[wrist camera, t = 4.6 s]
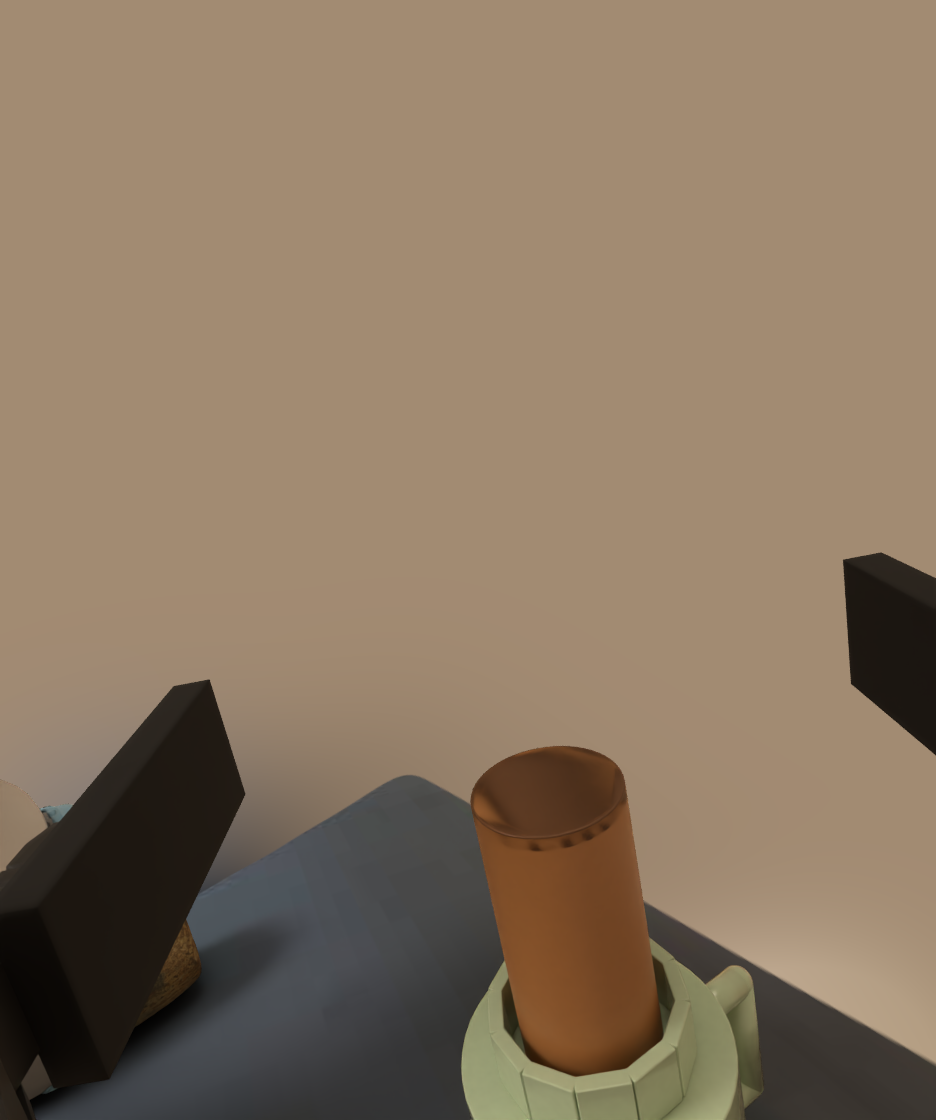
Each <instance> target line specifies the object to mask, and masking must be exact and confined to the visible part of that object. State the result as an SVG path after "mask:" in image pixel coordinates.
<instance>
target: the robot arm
mask: <svg viewBox="0 0 936 1120" xmlns="http://www.w3.org/2000/svg"><path fill="white" fill-rule="evenodd" d="M843 566H844V580H845V597H846V612H847V628H848V644H849V660H850V674H851V684H852V685H853V686H854V687H856V688H857V689H858V690H859V691H860V692H861V693H863V694H864V695H865V696H866V697H867V698H869V699H870V700H871V701H872V702H873V703H875V704H876V705H877V706H878V707H879V708H880V709H882V710H883V711H884V712H885V713H886V714H888V715H889V716H890V717H891V718H892V719H893V720H895V721H896V722H897V723H898V724H899V725H901V726H902V727H903V728H904V729H905V730H907V731H908V732H909V733H910V734H911V735H913V736H914V737H915V738H916V739H917V740H918V741H920V742H921V743H922V744H923V745H925V746H926V747H927V748H928V749H929V750H930V751H932V752H933V753H934V754H935V755H936V578H934V577H932V576H930V575H928V574H925V573H923V572H921V571H919V570H917V569H915V568H913V567H911V566H909V565H907V564H904V563H902V562H900V561H898V560H896V559H894V558H891V557H890V556H888V555H886V554H883V553H876V554H871V555H866V556H860V557H855V558H850V559H845V560H843ZM244 796H245V792H244V788H243V785H242V782H241V778H240V775H239V772H238V769H237V766H236V763H235V759H234V756H233V753H232V750H231V747H230V744H229V740H228V737H227V734H226V731H225V727H224V725H223V721H222V718H221V715H220V712H219V709H218V706H217V702H216V699H215V696H214V692H213V690H212V686H211V683H210V680H204V681H199V682H194V683H189V684H183V685H178V686H174V687H173V688H172V689H171V690H170V691H169V693H168V694H167V695H166V696H165V697H164V698H163V700H162V701H161V702H160V703H159V704H158V706H157V707H156V708H155V709H154V710H153V711H152V713H151V714H150V715H149V716H148V717H147V719H146V720H145V721H144V722H143V723H142V724H141V726H140V727H139V728H138V729H137V730H136V732H135V733H134V734H133V735H132V736H131V737H130V739H129V740H128V741H127V742H126V744H125V745H124V746H123V747H122V748H121V749H120V751H119V752H118V753H117V754H116V755H115V756H114V758H113V759H112V760H111V761H110V762H109V763H108V765H107V766H106V767H105V768H104V770H103V771H102V772H101V773H100V774H99V775H98V776H97V778H96V779H95V780H94V781H93V782H92V784H91V785H90V786H89V787H88V788H87V789H86V791H85V792H84V793H83V794H82V795H81V797H80V798H79V799H78V800H77V801H76V803H75V804H74V805H71V804H64V805H60V806H56V807H52V806H48V807H43V808H41V809H39V808H38V806H37V805H36V804H35V802H34V801H33V800H32V799H31V797H30V796H29V795H28V794H27V793H26V792H24V791H23V790H21V789H20V788H18V787H17V786H15V785H13V784H10V783H8V782H5V781H3V780H0V1120H36V1118H35V1115H34V1112H33V1109H32V1106H31V1103H30V1101H29V1100H31V1099H32V1098H34V1097H36V1096H38V1095H39V1094H41V1093H42V1094H47V1093H49V1092H51V1091H53V1090H55V1089H57V1088H61V1087H67V1086H73V1085H79V1084H85V1083H90V1082H96V1081H102V1080H108V1079H110V1077H111V1075H112V1073H113V1071H114V1069H115V1067H116V1064H117V1062H118V1060H119V1058H120V1056H121V1054H122V1052H123V1050H124V1048H125V1046H126V1044H127V1041H128V1039H129V1037H130V1035H131V1033H132V1031H133V1029H134V1027H135V1025H136V1023H137V1020H138V1018H139V1016H140V1014H141V1012H142V1010H143V1008H144V1006H145V1004H146V1002H147V1000H148V997H149V995H150V993H151V991H152V989H153V987H154V985H155V983H156V981H157V979H158V976H159V974H160V972H161V970H162V968H163V966H164V964H165V962H166V960H167V958H168V956H169V953H170V951H171V949H172V947H173V945H174V943H175V941H176V939H177V937H178V935H179V932H180V930H181V928H182V926H183V924H184V922H185V920H186V918H187V916H188V914H189V912H190V909H191V907H192V905H193V903H194V901H195V899H196V897H197V895H198V893H199V891H200V888H201V886H202V884H203V882H204V880H205V878H206V876H207V874H208V872H209V870H210V868H211V865H212V863H213V861H214V859H215V857H216V855H217V853H218V851H219V849H220V847H221V844H222V842H223V840H224V838H225V836H226V834H227V832H228V830H229V828H230V826H231V823H232V821H233V819H234V817H235V815H236V813H237V811H238V809H239V807H240V805H241V803H242V800H243V798H244Z"/></svg>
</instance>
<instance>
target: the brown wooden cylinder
mask: <svg viewBox="0 0 936 1120" xmlns="http://www.w3.org/2000/svg"><path fill="white" fill-rule="evenodd" d="M200 974H201V962H200V958H199V954H198V951H197V947H196V944H195V942H194V940H193V938H192V934H191V932H190V929H189V926H188V923H187V921H186V920H185V922H184V924H183V926H182V928H181V930H180V932H179V935H178V937H177V939H176V941H175V943H174V945H173V947H172V949H171V951H170V953H169V956H168V958H167V960H166V962H165V964H164V966H163V968H162V970H161V972H160V974H159V976H158V979H157V981H156V983H155V985H154V987H153V989H152V991H151V993H150V995H149V997H148V1000H147V1002H146V1004H145V1006H144V1008H143V1010H142V1012H141V1014H140V1016H139V1018H138V1020H137V1023H136V1025H135V1027H136V1026H138V1025H139V1024H141V1023H142V1022H144V1021H145V1020H146V1019H148V1018H149V1017H151V1016H152V1015H154V1014H155V1013H156V1012H158V1011H159V1010H161V1009H162V1008H164V1007H165V1006H167V1005H168V1004H169V1003H171V1002H172V1001H173V1000H174V999H176V998H177V997H178V996H179V995H181V994H182V993H183V992H184V991H185V990H186V989H188V988H189V987H190V986H191V985H192V984H193V983H194V982H195V981H196V980H197V979H198V978H199V976H200Z"/></svg>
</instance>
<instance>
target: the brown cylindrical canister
mask: <svg viewBox="0 0 936 1120" xmlns="http://www.w3.org/2000/svg"><path fill="white" fill-rule="evenodd" d="M471 809H472V813H473V818H474V822H475V827H476V831H477V836H478V840H479V845H480V850H481V854H482V859H483V863H484V868H485V872H486V877H487V881H488V886H489V890H490V895H491V900H492V904H493V909H494V913H495V918H496V922H497V927H498V931H499V936H500V940H501V945H502V950H503V954H504V959H505V963H506V968H507V972H508V977H509V981H510V986H511V990H512V995H513V1000H514V1004H515V1009H516V1013H517V1018H518V1022H519V1027H520V1031H521V1036H522V1040H523V1045H524V1050H525V1054H526V1056H527V1057H528V1058H529V1060H530V1061H531V1062H534V1063H537V1064H540V1065H543V1066H546V1067H548V1068H551V1069H554V1070H557V1071H560V1072H563V1073H566V1074H568V1075H571V1076H574V1077H578V1076H584V1075H591V1074H597V1073H603V1072H609V1071H615V1070H621V1069H626V1068H628V1067H629V1066H630V1065H631V1064H633V1063H634V1062H635V1061H636V1060H638V1059H639V1058H640V1057H641V1056H642V1055H644V1054H645V1053H646V1052H647V1051H649V1050H650V1049H651V1048H652V1047H654V1046H655V1045H656V1044H657V1043H659V1042H660V1041H661V1040H662V1039H663V1036H664V1032H663V1025H662V1019H661V1012H660V1006H659V1000H658V993H657V987H656V980H655V974H654V967H653V961H652V954H651V948H650V941H649V935H648V928H647V922H646V915H645V909H644V902H643V897H642V889H641V883H640V876H639V870H638V863H637V857H636V850H635V844H634V838H633V832H632V824H631V818H630V812H629V805H628V798H627V793H626V786H625V780H624V776H623V774H622V772H621V770H620V768H619V767H618V766H617V765H616V763H614V762H613V761H612V760H611V759H609V758H608V757H606V756H605V755H602V754H600V753H598V752H595V751H592V750H589V749H585V748H579V747H570V746H553V747H543V748H537V749H532V750H528V751H525V752H521V753H518V754H516V755H513V756H511V757H508V758H506V759H504V760H502V761H501V762H499V763H497V764H496V765H494V766H493V767H491V768H490V769H489V770H488V771H486V772H485V773H484V774H483V775H482V776H481V777H480V779H479V780H478V781H477V783H476V784H475V786H474V788H473V791H472V794H471Z"/></svg>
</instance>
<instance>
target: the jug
mask: <svg viewBox="0 0 936 1120" xmlns="http://www.w3.org/2000/svg"><path fill="white" fill-rule="evenodd" d="M649 941H650V948H651V954H652V961H653V967H654V974H655V980H656V987H657V993H658V1000H659V1006H660V1012H661V1019H662V1025H663V1032H664V1036H663V1039H662V1040H661V1041H660V1042H659V1043H657V1044H656V1045H655V1046H654V1047H652V1048H651V1049H650V1050H649V1051H647V1052H646V1053H645V1054H644V1055H642V1056H641V1057H640V1058H639V1059H638V1060H636V1061H635V1062H634V1063H633V1064H631V1065H630V1066H629V1067H628V1068H626V1069H621V1070H615V1071H609V1072H603V1073H597V1074H591V1075H584V1076H578V1077H574V1076H571V1075H568V1074H566V1073H563V1072H560V1071H557V1070H554V1069H551V1068H548V1067H546V1066H543V1065H540V1064H537V1063H534V1062H531V1061H530V1060H529V1058H528V1057H527V1056H526V1054H525V1050H524V1045H523V1040H522V1036H521V1031H520V1027H519V1022H518V1018H517V1013H516V1009H515V1004H514V1000H513V995H512V990H511V986H510V981H509V977H508V972H507V968H506V963H505V960H504V962H503V964H502V965H501V967H500V969H499V971H498V972H497V974H496V976H495V978H494V979H493V981H492V983H491V985H490V986H489V988H488V992H487V993H486V994H485V996H484V997H483V999H482V1000H481V1002H480V1003H479V1005H478V1006H477V1008H476V1010H475V1012H474V1014H473V1016H472V1018H471V1020H470V1023H469V1026H468V1029H467V1032H466V1035H465V1040H464V1044H463V1049H462V1061H461V1072H462V1084H463V1089H464V1093H465V1098H466V1102H467V1106H468V1110H469V1114H470V1118H471V1120H746V1118H745V1109H746V1108H747V1107H748V1106H749V1105H750V1104H752V1103H753V1102H754V1101H755V1100H756V1099H757V1098H758V1097H759V1096H760V1095H761V1094H762V1092H763V1089H764V1079H763V1070H762V1060H761V1051H760V1042H759V1033H758V1024H757V1015H756V1006H755V997H754V988H753V981H752V978H751V976H750V974H749V973H748V972H747V971H746V970H745V969H744V968H742V967H740V966H736V965H733V966H729V967H727V968H726V969H724V970H723V971H722V972H721V973H719V974H718V975H717V976H716V977H714V978H713V979H712V980H710V981H709V982H708V983H707V984H704V983H703V982H702V981H701V980H700V979H699V978H698V977H697V976H696V975H695V974H694V973H692V972H691V971H690V970H689V969H687V968H686V967H685V966H683V965H682V964H680V963H679V962H678V961H676V960H674V957H673V956H672V955H670V954H669V953H668V952H667V951H665V950H664V949H663V948H662V947H661V946H659V945H658V944H657V943H656V942H654V941H653V940H652V939H651V938H649Z"/></svg>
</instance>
